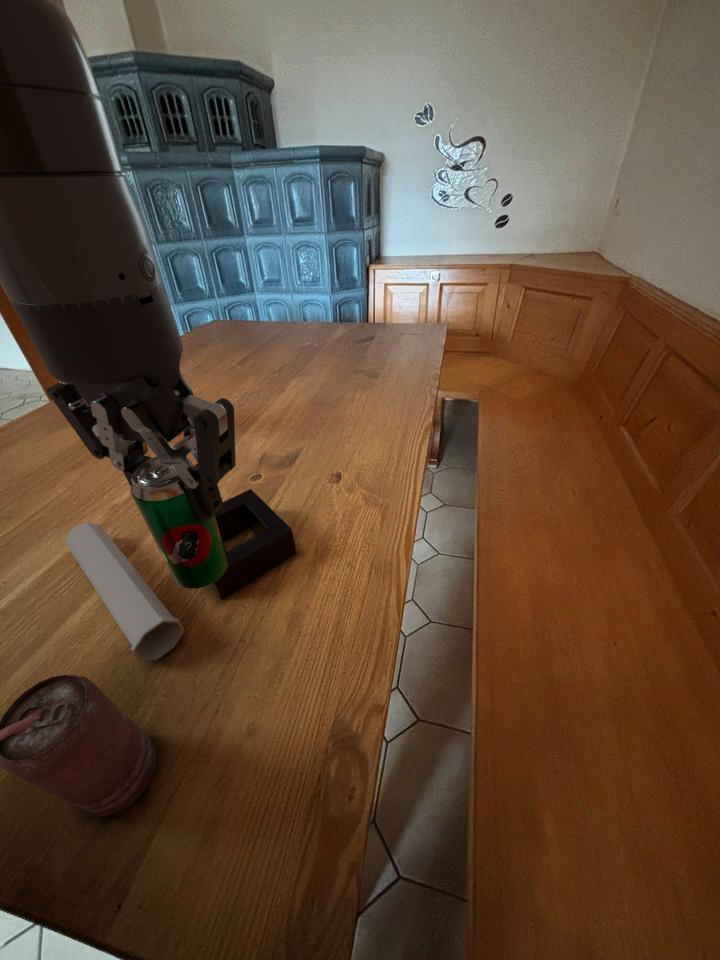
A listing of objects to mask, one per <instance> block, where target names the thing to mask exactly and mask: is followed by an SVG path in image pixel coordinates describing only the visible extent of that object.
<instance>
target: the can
mask: <svg viewBox="0 0 720 960" xmlns="http://www.w3.org/2000/svg"><path fill="white" fill-rule="evenodd" d="M156 765H157V748H156V746H155V744H154V741H153V740H152V739H151V738H150V737H149V736H148V735H147V734H146V733H145V732H144V731H143V730H142V729H141V728H140V727H139V726H138V725H137V724H136V723H135V722H134V721H133V720H132V719H131V718H130V717H129V716H128V715H127V714H126V713H125V712H123V710H121V708H120V707H119V706H117V704H116V703H115V702H113V700H111V698H110V697H109V696H107V694H106V693H104V692H103V690H102V689H101V688H100V687H99V686H97V685H96V684H95V683H94V682H93V681H92V680H90V679H88V677H86V676H82V675H77V674H71V675H70V674H60V675H54V676H51V677H49V678H46V679H44V680H42V681H39V682H37V683H36V684H34V685H32V686H31V687H30V688H27V689H26V690H25V691H24V692H23V693H22V694H21V695H20V696H18V697H17V698H16V699H14V701H13V702H12V703H11V704H10V706H9V707H8V708H7V709H6V711H5V712H4V713H3V714H2V716H1V718H0V766H1V767H2V768H3V769H4V770H5V771H7V772H8V773H10V774H12V775H15V776H16V777H18V778H21V779H22V780H24V781H26V782H28V783H29V784H32V785H34V786H35V787H38V788H40V789H42V790H44V791H46V792H47V793H50V794H51V795H54V796H55V797H58V798H60V799H62V800H63V801H66V802H68V803H69V804H71V805H73V806H75V807H77V808H79V809H82V810H83V811H85V812H87V813H89V814H91V815H94V816H97V817H98V816H99V817H107V816H112V815H116V814H118V813H120V812H121V811H123V810H125V809H128V808H129V807H130V806H131V805H132V804H133V803H134V802H135V801H136V800H137V799H139V797H140V796H142V794H143V792H144V791H145V790H146V789H147V787H148V785H149V784H150V782H151V779H152V777H153V775H154V773H155V769H156Z"/></svg>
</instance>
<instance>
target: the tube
mask: <svg viewBox="0 0 720 960" xmlns="http://www.w3.org/2000/svg"><path fill="white" fill-rule="evenodd" d="M64 543H65V545H66V547H67V548H68V550H69V551H70V553H71V554H72V556H73V558H74V559H75V561H76V562H77V563H78V565H79V567H80V568H81V570H82V571H83V573H84V574H85V576H86V578H87V579H88V581H89V582H90V584H91V585H92V587H93V588H94V589H95V591H96V593H97V594H98V595H99V597H100V599H101V600H102V602H103V604H104V606H105V607H106V608H107V609H108V611H109V613H110V615H111V616H112V617H113V618H114V621H115V622H116V623H117V625H118V627H119V629H120V630H121V632H122V633H123V634H124V635H125V637H126V639H127V640H128V642H129V643H130V646H131V647H130V650H131V651H132V653H133V654H134V656H135V657H136V658H137V659H138V660H139V662H143V661H158V660H159V659H160V658H162V657H163V656H164V655H166V654H167V653H169V652H170V651H171V650H172V649H174V648H175V647H176V645H177V643H178V642H179V640H180V639H181V638H182V636H183V635H184V633H185V628H184V627H183V625H182V622H181V621H180V620H179V619H178V618H177V617H174V616H173V615H172V614H171V611H169V610H168V608H166V606H165V604H163V602H162V601H161V599H160V598H159V597H158V596H157V595H156V593H155V592H154V591H153V590H152V588H151V587H150V586H149V585H148V583H147V582H146V580H145V579H144V578H143V577H142V576H141V574H140V573H139V572H138V571H137V569H136V568H135V567H134V565H133V564H132V563H131V562H130V560H129V559H128V558H127V557H126V555H125V554H124V553H123V552H122V550H121V549H120V548H119V546H117V544H116V542H114V540H113V539H112V538H111V536H110V535H109V534H108V533H107V531H106V530H105V529H104V527H102V525H101V524H95V523H93V522H85V523H84V522H83V523H81V524H78V525H76V526H73V527H72V528H71V530H70V531H69V533H68V534H67V536H66V538H65V540H64Z"/></svg>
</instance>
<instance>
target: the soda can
mask: <svg viewBox="0 0 720 960" xmlns="http://www.w3.org/2000/svg"><path fill="white" fill-rule="evenodd" d="M186 459H187V461H188V462H189V464H190V465H191V467H194V466H195V465H196V464H194V463H193V462H192V460H191V459H190V458H189V457H188V456H186ZM131 482H132V485H131V487H130V494H131V496H132V498H133V500H134V502H135V505H136V506H137V508H138V510H139V512H140V514H141V517H142V518H143V520H144V522H145V524H146V526H147V528H148V531H149V533H150V534H151V536H152V538H153V540H154V542H155V545H156V546H157V548H158V551H159V553H160V555H161V557H162V558H163V561H164V563H165V565H166V567H167V569H168V570H169V572H170V575H171V577H172V578H173V579H172V580H174V582H175V584H177V585H178V586H179V587H181V588H185V589H188V590H189V589H190V590H197V589H203V588H206V587H209V586H212V585H211V584H213V583H214V582H216V581H217V580H218V579H219V578H221V576H222V575H223V574H224V573H225V571H226V570H227V568H228V565H229V556H228V553H227V551H228V550H227V548H226V544H225V541H223V538H222V535H221V532H220V529H219V526H218V523H217V520H216V517H215V514H214V515H213V516H212V517H211V519H210V520H209V521H207V522H204V521H200V520H197V519H196V517H195V514H194V512H193V509H192V506H191V504H190V501H189V499H188V496H187V494H186V491H185V489H184V486H185V484H184V482H183V481H182V480H181V478H180V477H179V476H178V474H177V473H176V471H175V470H174V469H173V467H172V466H171V465H170V464H163V463H161V462H160V460H159V459H158V458H157V456H154V457H151V459H149V460H146V461H145V462H143V463H141V464H140V465H139V466H137V467H136V468H135V469H134V471H133V472H132V474H131Z"/></svg>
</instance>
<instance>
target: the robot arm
mask: <svg viewBox="0 0 720 960" xmlns="http://www.w3.org/2000/svg"><path fill="white" fill-rule="evenodd" d="M95 77H96V76H95V74H94V71H93V68H92V65H91V63H90V60H89V58H88V55H87V53H86V50H85V48H84V45H83V43H82V40H81V38H80V36H79V33H78V31H77V30H76V27H75V26H74V23H73V22H72V20H71V18H70V17H69V15H68V12H67V9H66V7H65V3H64V0H0V286H1V287H2V290H3V291H4V293H5V295H6V297H7V298H8V301H9V302H10V304H11V306H12V308H13V310H14V311H15V313H16V315H17V317H18V319H19V321H20V322H21V324H22V326H23V327H24V330H25V332H26V333H27V335H28V337H29V340H30V341H31V343H32V344H33V347H34V348H35V350H36V352H37V353H38V355H39V357H40V360H41V361H42V362H43V365H44V366H45V368H46V370H47V372H48V373H49V374H50V375H51V376H52V377H53V378H54V379H56V380H58V382H56V383H53V384H51V385H49V386H47V387H46V392H47V394H48V396H49V398H51V400H52V401H53V402H54V404H55V405H56V407H57V408H58V410H59V412H61V413H62V415H63V416H64V418H65V420H67V422H68V423H69V425H70V426H71V428H72V429H73V430H74V431H75V433H76V434H77V436H78V438H79V439H80V440H81V441H82V443H83V445H84V446H85V447H86V449H87V450H88V452H90V454H91V455H92V456H93V457H94V458H95V459H98V460H103V459H104V458H105V457H106V458H107V459H109V460H110V463H111V465H112V466H113V467H114V468H115V469H116V470H118V471H122V473H123V475H124V477H125V479H126V481H127V483H128V485H129V486H130V488H131V485H132V482H131V474H132V472H133V471H134V469H135V468H136V467H137V466H139V465H140V464H141V463H143V462H145V461H146V460H149V459H151V458H152V456H148V455H146V454H148V453H149V449H150V450H151V451H152V452H153V454H154V455H155V457H157V458H158V459H159V460H160V462H161V463H163V464H170V465H171V466H172V467H173V469H174V470H175V471H176V473H177V474H178V476H179V477H180V478H181V480H182V481H183V482H184V484H185V486H184V489H185V491H186V494H187V496H188V499H189V501H190V504H191V506H192V509H193V512H194V514H195V517H196V519H197V520H200V521H204V522H207V521H209V520H210V519H211V517H212V516H213V515H214V514H215V513H216V512H217V511H218V510H219V509H220V507H221V506H222V504H223V502H224V501H223V498H222V494H221V492H220V488H219V485H218V484H219V483H220V481H222V479H224V477H226V475H227V474H228V473H230V472H231V471H232V470H233V469H235V467H236V465H237V464H236V462H237V461H236V430H235V429H236V428H235V407H234V405H233V403H232V402H231V401H230V400H229V399H227V398H226V397H225V398H224V397H221V398H219V399H217V400H216V401H215V402H210V401H208V400H205V399H204V398H201V397H198V396H195V395H194V392H193V390H192V388H191V386H190V385H189V383H187V381H186V379H185V378H184V376H183V374H182V371H181V367H180V366H181V361H182V360H181V358H182V355H183V351H184V345H183V342H182V339H181V336H180V333H179V328H178V325H177V322H176V319H175V316H174V312H173V309H172V305H171V302H170V298H169V295H168V293H167V289H166V285H165V282H164V279H163V276H162V272H161V269H160V266H159V262H158V259H157V256H156V252H155V249H154V246H153V242H152V239H151V236H150V232H149V230H148V226H147V224H146V222H145V220H144V217H143V214H142V213H141V210H140V208H139V205H138V203H137V201H136V199H135V196H134V194H133V191H132V188H131V186H130V183H129V180H128V178H127V176H126V175H125V174H124V173H125V168H124V164H123V161H122V158H121V155H120V151H119V149H118V145H117V143H116V139H115V136H114V133H113V130H112V126H111V123H110V119H109V116H108V113H107V109H106V107H105V104H104V101H103V97H102V95H101V91H100V88H99V85H98V82H97V79H96V78H95ZM96 424H98V429H99V434H100V440H99V439H98V438H97V436H96V435H95V433H94V432H93V430H92V428H93V426H94V425H96ZM182 433H183V437H182V438H181V439H180V440H179V441H177V442H176V443H174V445H172V446H171V445H170V442H171V441H173V440H174V439H175V438H177V437H178V436H179V435H181V434H182ZM148 447H149V449H148ZM190 453H191V455H192V456H193V458H194V460H195V461H196V462H197V463H195V464H194V465H195V466H194V467H191V465H190V464H189V462H188V461H187V459H186V457H188V455H189V454H190Z"/></svg>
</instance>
